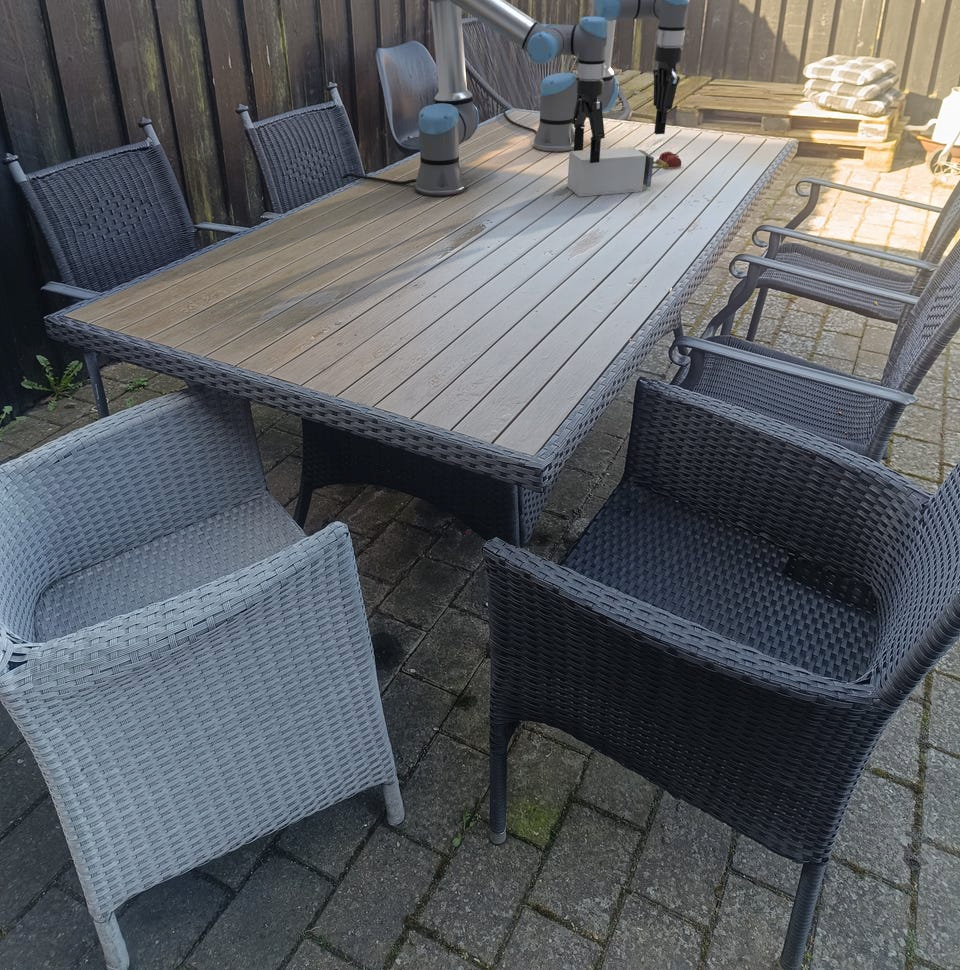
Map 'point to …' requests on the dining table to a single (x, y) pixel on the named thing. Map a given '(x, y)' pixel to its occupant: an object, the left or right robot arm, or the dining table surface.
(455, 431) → the dining table surface
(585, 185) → the grey rectangular block
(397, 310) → the dining table surface
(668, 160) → the dental model
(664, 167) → the drawer
